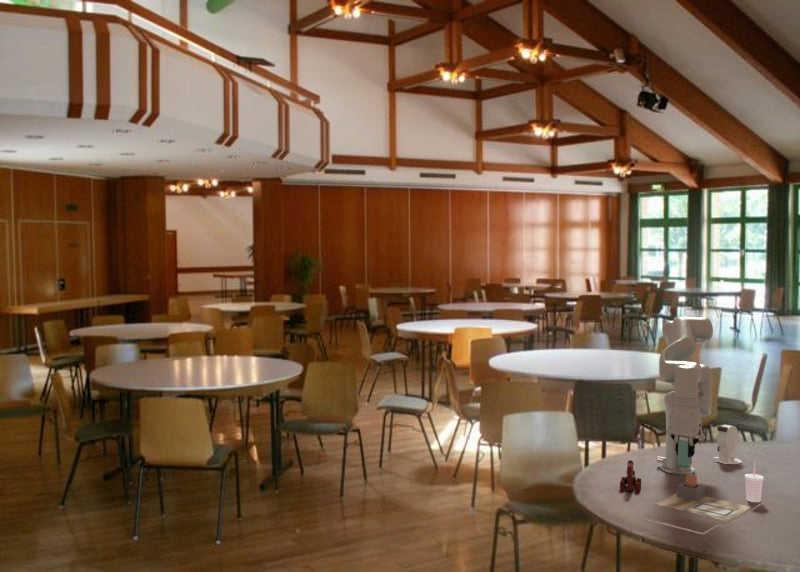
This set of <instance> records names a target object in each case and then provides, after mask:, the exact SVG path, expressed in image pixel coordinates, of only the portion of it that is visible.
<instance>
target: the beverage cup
mask: <svg viewBox="0 0 800 572" xmlns="http://www.w3.org/2000/svg"><path fill="white" fill-rule="evenodd" d="M744 479H745V499H746V500H747V501H748V502H752V503H760V502H761V499H762V492H763V482H764V476H763V475H760V474H757V473H756V461H753V473H745V474H744Z"/></svg>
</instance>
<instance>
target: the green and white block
mask: <svg viewBox="0 0 800 572" xmlns="http://www.w3.org/2000/svg"><path fill="white" fill-rule="evenodd" d="M689 444H690V443H689V437H685V436H679V440H678V464H679V467H681V468H686V469H687V468H689V467H690V465H691V466H692V463H693V456H692V457H688V446H689Z"/></svg>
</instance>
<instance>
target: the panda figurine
mask: <svg viewBox="0 0 800 572" xmlns="http://www.w3.org/2000/svg"><path fill="white" fill-rule="evenodd" d="M738 430H739V424H738V423H733V422H728V424H722V425H718V426H717V431H718V432H717V436H716V439H717V445H718V446H717V452H718V456H716V457H713V458H719V461H722V462H726V463H728V459H731V460H730V462H731V461H732V462H734V460H735V462H736V461H737V462H736V463H735V464H738V465H741V464H742V463H743V461H742V460H741V459H739V458H735V456H736V446H737V445H738V441H739V431H738ZM740 463H741V464H740Z"/></svg>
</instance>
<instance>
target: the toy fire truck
mask: <svg viewBox="0 0 800 572" xmlns="http://www.w3.org/2000/svg"><path fill="white" fill-rule="evenodd" d="M626 466H627V467H626V476H621V480H620V481H619V491H620V492H625V489H627V491H633V490H634V493H635V494H637V493H638V494H639V493H641V492H640V491H641V489H642V478H639V477H636V476H635V475H636V471H635V470H634V461H633V460H628V461H627V465H626Z"/></svg>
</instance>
